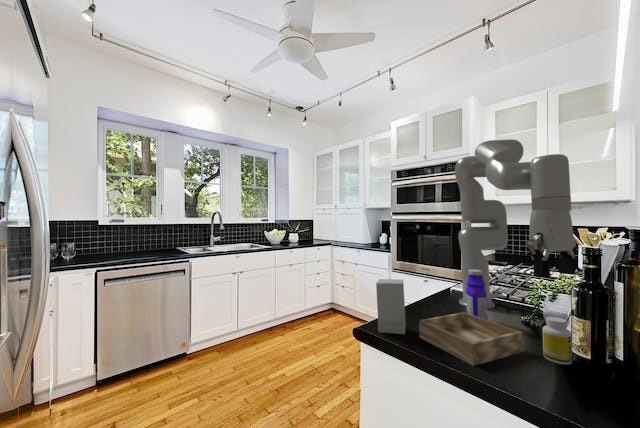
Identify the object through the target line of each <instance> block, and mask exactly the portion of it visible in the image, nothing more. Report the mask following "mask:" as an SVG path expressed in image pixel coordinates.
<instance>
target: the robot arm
mask: <svg viewBox="0 0 640 428" xmlns="http://www.w3.org/2000/svg"><path fill="white" fill-rule="evenodd" d="M523 156H524V146H523V144H522V143H521V141H519V140H517V139H511V138H510V139H493V140H486V141H483V142H481V143H479V144H477V146H476V148H475V150H474V155H470V156H465V157H461V158H460V159H458V160H457V161H456V163H455V166H454V176H455V179H456V180H455V181H456V183H457V185H458V189H459V195H460V196H459V197H460V211H461V212H460V214H461V219H462V221H463V222H465V223H467V224H489V226H468V227H467V226H466V227H463V228H462V229H461V230H460V231H459V232H458V237H457V238H458V242H459V248H460V252H461V253H460V254H461V274H462V276H461V277H462V279H461V280H462V298H460V299H459V301H458V304H459V305H461V306H463V307H466V308H467V301H466V288H467V284H466V282H467V280H468V277H469V270H481V271H482V277H483V281H484V283H485V286H484V287H485V290H486V294H487V296H486V298H487V310H491V309H494V308H495V306H496V304H495V303H494V302H493V301H492V300H494V299H497V298H498V295H497V294H496V293H491V291H490V269H489V260H488V259H487V258H488V257H486V255H484V254H483V251H501V250H504V249H505V248H506V247H507V246H508V241H509V236H508V235H509V233H508V217H507V216H508V215H507V210H506V206H505V204H504V203H503V202H502V201H500V200H496V199H485V197H484V195H485V194H484V193H485V192H484V187H483V186H482V184H481V183H480V182H479V181H478V180H476V178H486V179H487V182H489V183H490V184H491V185H492V186H494V187H495V188H497V189H499V190H503V191H514V190H515V191H517V190H518V191H519V190H529V191H530V196H531V211H530V212H531V214H530V218H529V228H528V229H529V230H528V231H529V232H528V233H529V234H528V239H529V240H528V241H527V243H526V244H527V247H528V250H529V253H530V255H531V260H532V261H533V262H532V264H533V265H532V266H533V275H534V277H537V278H544V279H549V278H550V277H551V267H550V260H548V259H549V256H550V255H551V253H557V254H558V256H559V257H557V266H558V267H557V268H558V273H559V274H561V275H563V274H564V275H570V276H571V275H573V276H574V275H575V273H576V272H575V271H576V270H575V258H576V255H575V254H576V245H577V242H578V241H577V239H575V238H574V228H573V221H572V216H571V215H572V214H571V211H572V196H571V180H570V164H569V163H570V162H569V158H568V157H567V155H565V154H562V153H561V154H560V153H555V154H554V153H553V154H545V155H540V156H537V157H534V158H533V159H531V161H527V162H526V161H524V162H520V161H521V159H522V158H523Z"/></svg>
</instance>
